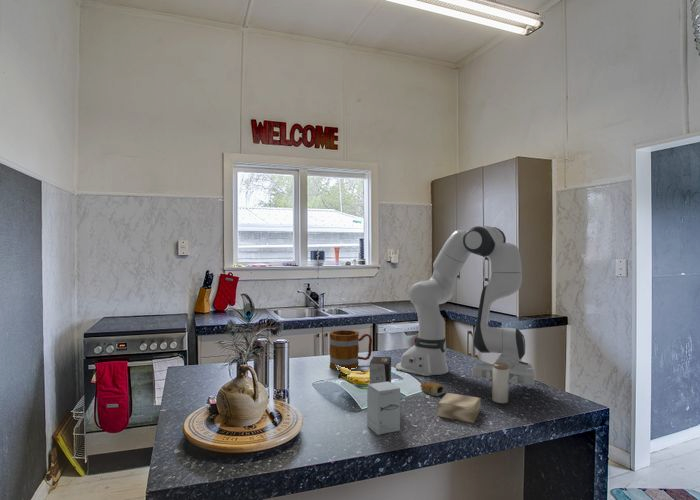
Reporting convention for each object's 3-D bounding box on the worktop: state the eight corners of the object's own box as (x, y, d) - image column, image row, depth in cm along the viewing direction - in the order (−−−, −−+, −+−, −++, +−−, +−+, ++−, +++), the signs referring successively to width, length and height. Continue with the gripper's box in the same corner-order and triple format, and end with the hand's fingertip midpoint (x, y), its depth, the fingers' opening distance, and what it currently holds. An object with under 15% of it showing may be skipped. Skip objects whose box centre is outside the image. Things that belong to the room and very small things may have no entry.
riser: (437, 416, 134) (437, 402, 134) (447, 404, 144) (447, 392, 144) (473, 422, 129) (473, 408, 129) (480, 410, 139) (480, 397, 139)
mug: (333, 371, 182) (333, 336, 182) (326, 363, 195) (326, 330, 195) (376, 368, 187) (376, 334, 187) (367, 360, 200) (367, 328, 200)
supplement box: (378, 435, 120) (378, 391, 120) (366, 425, 127) (366, 383, 127) (400, 431, 123) (400, 387, 123) (388, 421, 130) (388, 380, 130)
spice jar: (490, 401, 142) (491, 365, 142) (493, 396, 147) (494, 361, 147) (507, 404, 140) (508, 367, 140) (509, 399, 144) (510, 363, 144)
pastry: (416, 390, 159) (416, 380, 159) (428, 387, 163) (428, 377, 163) (434, 397, 151) (434, 386, 151) (447, 394, 155) (447, 383, 155)
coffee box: (388, 414, 136) (388, 363, 135) (368, 412, 137) (368, 362, 137) (391, 404, 144) (391, 356, 144) (373, 402, 146) (373, 355, 146)
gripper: (476, 356, 159) (468, 366, 147) (536, 364, 150) (533, 375, 138) (476, 373, 160) (468, 384, 147) (536, 382, 150) (532, 394, 138)
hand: (500, 380), depth 142 cm, fingers closed on spice jar, 5 cm apart
